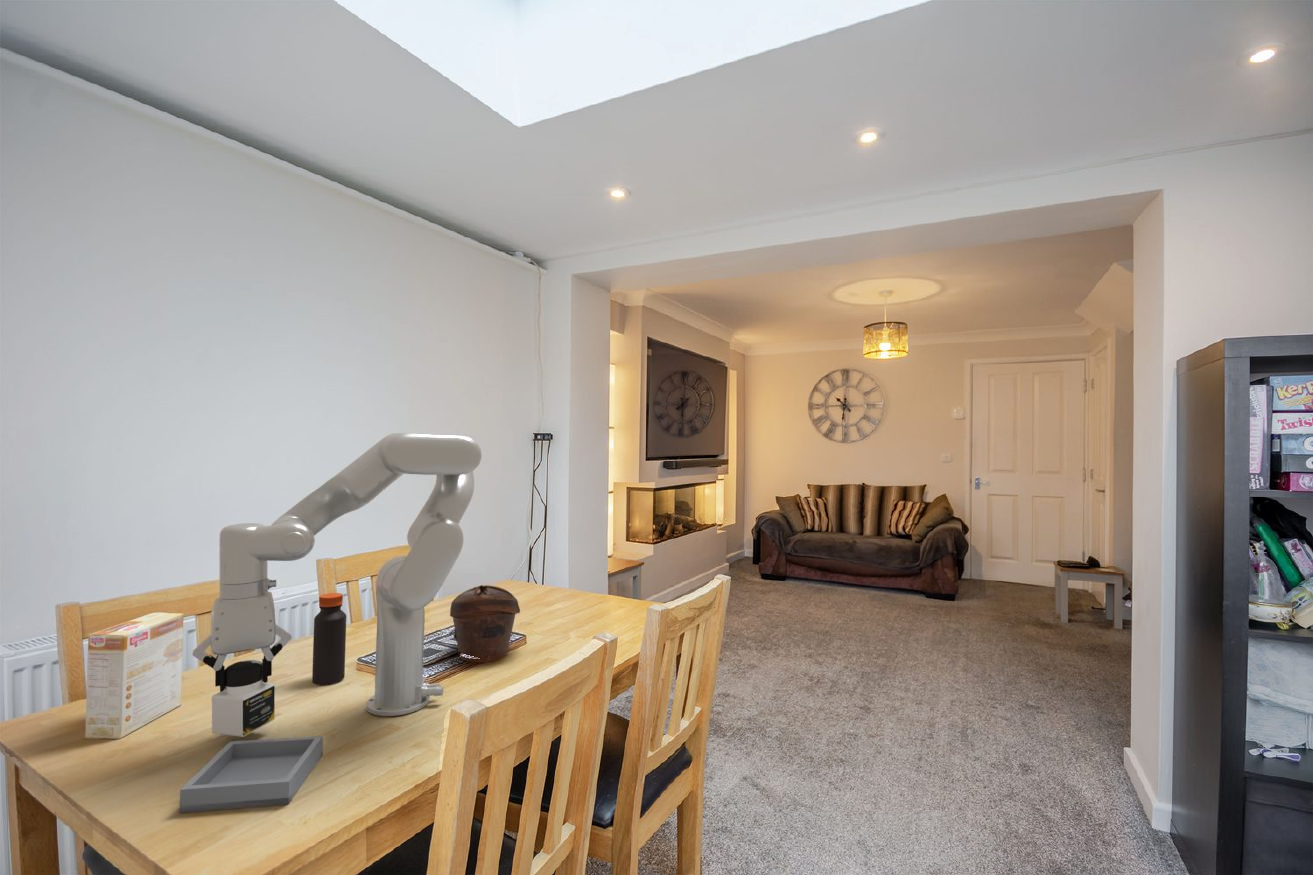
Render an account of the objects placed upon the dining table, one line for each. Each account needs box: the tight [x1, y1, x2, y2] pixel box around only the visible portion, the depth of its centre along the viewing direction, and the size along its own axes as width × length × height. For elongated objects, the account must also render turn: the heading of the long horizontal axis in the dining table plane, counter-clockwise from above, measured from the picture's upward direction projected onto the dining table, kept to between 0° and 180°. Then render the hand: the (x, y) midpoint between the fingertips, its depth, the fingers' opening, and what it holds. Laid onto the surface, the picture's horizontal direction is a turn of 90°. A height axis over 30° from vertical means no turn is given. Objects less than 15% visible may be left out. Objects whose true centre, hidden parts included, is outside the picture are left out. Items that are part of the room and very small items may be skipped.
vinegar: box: [311, 592, 347, 686], centre depth 142 cm, size 7×7×20 cm
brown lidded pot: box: [449, 584, 521, 663], centre depth 163 cm, size 18×20×18 cm
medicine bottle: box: [211, 659, 276, 738], centre depth 114 cm, size 7×7×12 cm
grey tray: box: [178, 735, 324, 814], centre depth 100 cm, size 15×15×4 cm
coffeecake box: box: [84, 612, 185, 740], centre depth 120 cm, size 15×7×20 cm, turn 1°
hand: (243, 683), depth 114 cm, fingers closed on medicine bottle, 6 cm apart
